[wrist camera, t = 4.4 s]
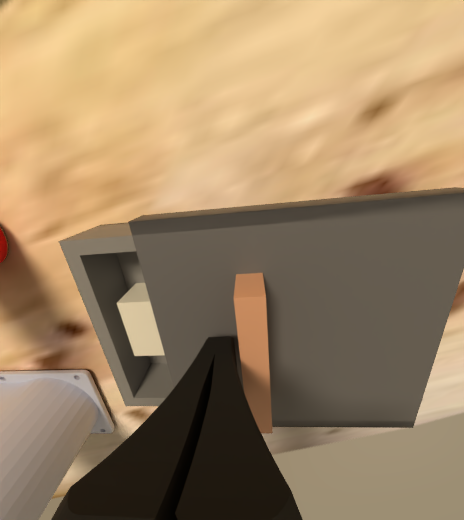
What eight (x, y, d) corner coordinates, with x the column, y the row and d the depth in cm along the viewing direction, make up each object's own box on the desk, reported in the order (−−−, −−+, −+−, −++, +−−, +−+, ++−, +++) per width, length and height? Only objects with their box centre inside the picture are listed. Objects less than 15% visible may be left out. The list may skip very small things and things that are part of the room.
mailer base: (146, 366, 19) (125, 406, 16) (100, 225, 14) (58, 241, 11) (318, 362, 17) (334, 405, 14) (328, 205, 13) (355, 217, 10)
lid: (189, 405, 16) (175, 463, 13) (142, 215, 11) (99, 234, 8) (398, 404, 15) (439, 469, 11) (455, 187, 10) (557, 197, 6)
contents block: (149, 330, 17) (134, 356, 14) (135, 283, 15) (116, 303, 13) (216, 328, 16) (211, 354, 14) (208, 279, 15) (201, 299, 12)
